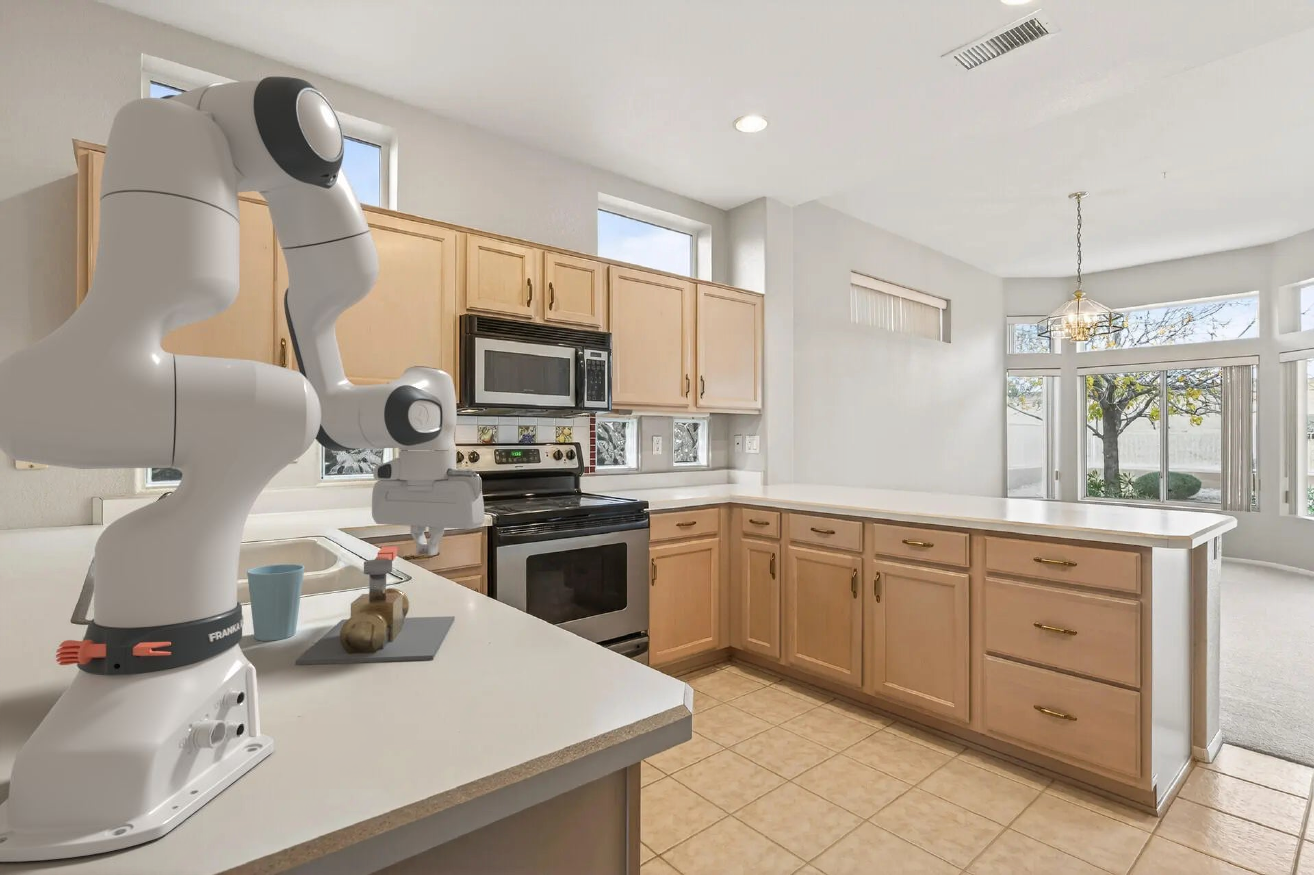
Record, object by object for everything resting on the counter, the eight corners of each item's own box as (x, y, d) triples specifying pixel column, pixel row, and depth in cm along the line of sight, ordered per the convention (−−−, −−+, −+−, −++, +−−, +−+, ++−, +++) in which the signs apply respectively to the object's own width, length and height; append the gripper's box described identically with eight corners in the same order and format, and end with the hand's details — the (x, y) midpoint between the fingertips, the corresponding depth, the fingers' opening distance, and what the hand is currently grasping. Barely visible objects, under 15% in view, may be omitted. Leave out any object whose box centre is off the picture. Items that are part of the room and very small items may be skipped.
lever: (390, 574, 99) (390, 563, 99) (361, 575, 97) (361, 564, 97) (402, 554, 114) (402, 545, 114) (377, 555, 113) (377, 546, 113)
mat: (432, 659, 92) (433, 655, 92) (295, 664, 89) (295, 660, 89) (454, 619, 111) (454, 616, 111) (342, 623, 109) (342, 619, 109)
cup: (306, 638, 100) (307, 570, 100) (247, 646, 96) (248, 576, 96) (301, 626, 107) (301, 562, 107) (245, 633, 102) (246, 567, 102)
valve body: (384, 656, 93) (385, 585, 93) (339, 658, 92) (340, 586, 92) (409, 624, 108) (409, 563, 108) (370, 625, 107) (371, 564, 107)
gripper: (493, 468, 105) (492, 555, 104) (394, 467, 112) (393, 548, 112) (467, 470, 99) (467, 561, 99) (365, 468, 106) (364, 553, 106)
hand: (427, 554), depth 105 cm, fingers closed
